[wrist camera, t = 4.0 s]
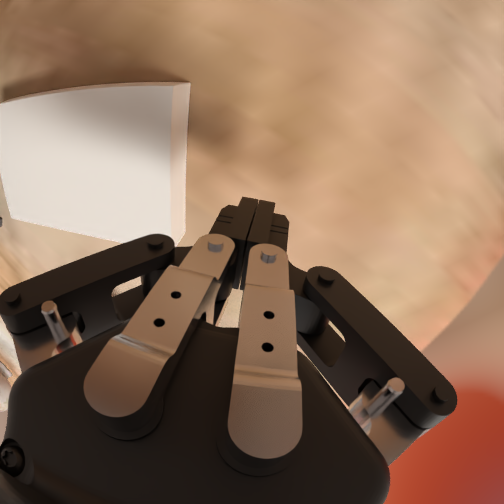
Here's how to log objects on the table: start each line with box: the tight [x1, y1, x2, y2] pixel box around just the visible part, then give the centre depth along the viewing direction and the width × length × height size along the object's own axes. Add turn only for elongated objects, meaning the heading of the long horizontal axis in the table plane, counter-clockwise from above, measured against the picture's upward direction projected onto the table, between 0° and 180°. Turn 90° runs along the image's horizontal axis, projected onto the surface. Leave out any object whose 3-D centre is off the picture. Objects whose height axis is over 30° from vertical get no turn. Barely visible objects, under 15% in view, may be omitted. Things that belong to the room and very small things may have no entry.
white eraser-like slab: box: [0, 82, 191, 247], centre depth 17 cm, size 10×16×2 cm, turn 83°
